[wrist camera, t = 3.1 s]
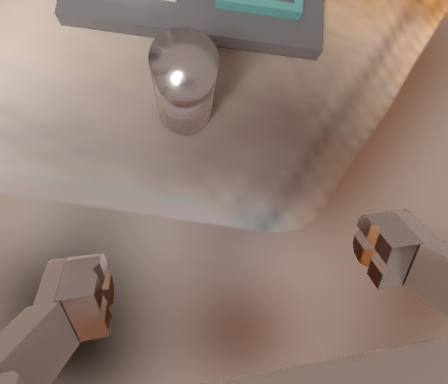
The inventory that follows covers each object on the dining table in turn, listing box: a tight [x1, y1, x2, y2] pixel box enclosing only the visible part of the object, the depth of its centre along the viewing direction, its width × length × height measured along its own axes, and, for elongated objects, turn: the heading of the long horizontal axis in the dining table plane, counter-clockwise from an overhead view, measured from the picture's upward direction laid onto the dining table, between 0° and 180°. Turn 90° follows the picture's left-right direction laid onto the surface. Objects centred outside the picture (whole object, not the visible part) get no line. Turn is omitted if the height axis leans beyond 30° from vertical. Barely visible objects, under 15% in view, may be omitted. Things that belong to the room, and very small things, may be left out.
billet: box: [149, 27, 219, 135], centre depth 26 cm, size 4×4×8 cm
